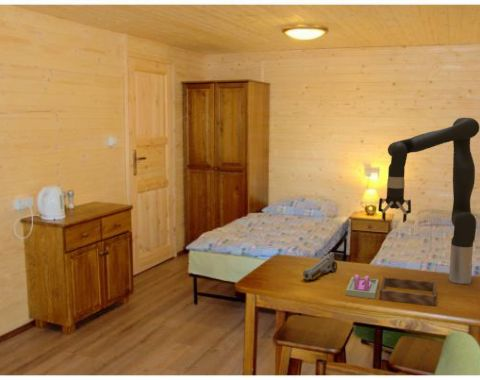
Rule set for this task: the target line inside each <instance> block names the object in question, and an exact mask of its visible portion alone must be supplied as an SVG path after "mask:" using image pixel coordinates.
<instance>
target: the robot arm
mask: <svg viewBox="0 0 480 380" xmlns="http://www.w3.org/2000/svg"><path fill="white" fill-rule="evenodd" d="M479 131H480V124H479V122H478V121H477V120H476V119H475V118H472V117H459V118H457V119H455V120H454V122H453V124H452V125H451V126H449V127H446V128H445V127H444V128H442V129H437V130H433V131H429V132H425V133H421V134H418V135H415V136H412V137H410V138H405V139H402V140H398V141H393V142H392V143H390V144H389V146H387V153H388V155H389V156H390V157H391V158H390V164H389V166H388V173H387V184H386V198H383V197H380V198H379V200H378V209H377V210H378V212H380V213H382V215H381V220H383V222H386V216H387V215H386V214H387V211H388V210H389V209H396V210H399V209H400V210H401V212H402V213H403V215H402V222H403V223H405V222H406V221H407V218H408V217H407V216H408V214H411V213H412V201H411V199H405V174H406V173H405V171H406V170H405V168H406V167H405V166H406V163H407V159H408V154H410V153H418V152H421V151H424V150H428V149H430V148H434V147H436V146H440V145H443V144H446V143H449V142H452V144H453V154H452V155H453V156H452V162H453V163H452V191H453V192H452V195H453V196H452V197H453V204H452V211H451V220H450V221H451V223H452V225H453V235H452V236H453V237H452V238H451V242H450V257H449V258H450V260H449V273H448V280H449V282H452V283H453V284H454V283H456V284H459V285H462V284H463V285H464V284H465V285H467V284H468V285H469V284H472V270H473V263H472V262H473V249H474V242H475V239H476V229H477V220H476V219H477V218H476V217H475V215H474V214H472V210H471V198H472V193H473V190H474V186H475V180H476V166H475V165H476V164H475V161H474V158H473V156H472V152H471V139H472V138H474V137H476V136H477V134H478V133H479ZM384 202H385V203H386V204H387V205H386V206H385V207H384V208H382V207H383V204H384ZM404 203H405V204H406V206H407V210H406V208H405V207H404Z"/></svg>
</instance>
